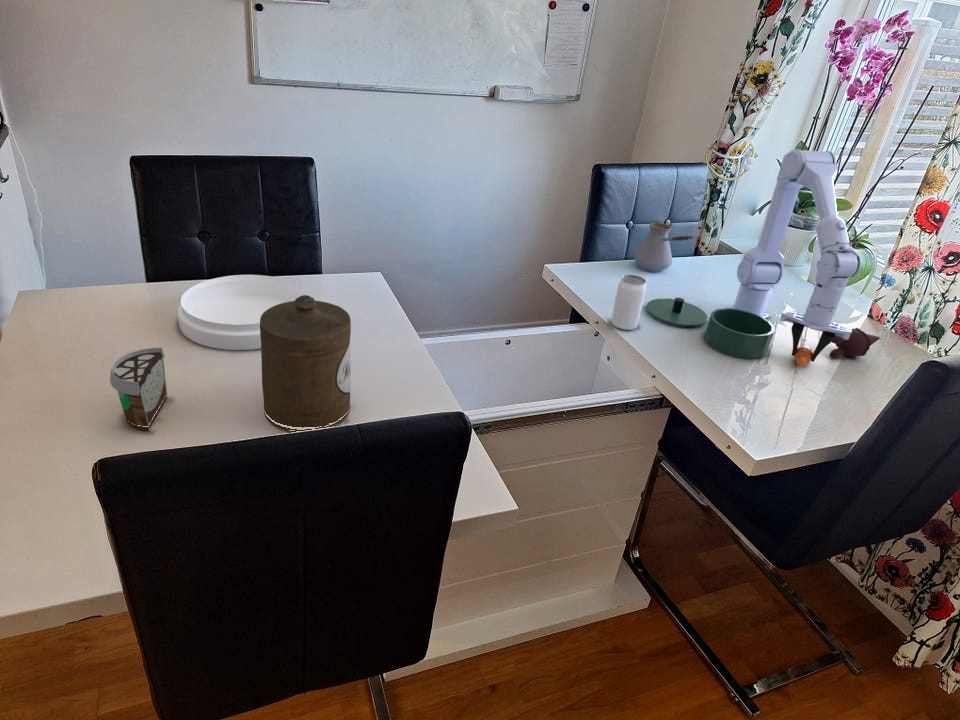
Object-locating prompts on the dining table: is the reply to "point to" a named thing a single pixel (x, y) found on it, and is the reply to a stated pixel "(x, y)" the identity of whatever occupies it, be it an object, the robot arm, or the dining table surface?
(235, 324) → the plate
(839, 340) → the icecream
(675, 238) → the coffee pot
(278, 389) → the wooden container
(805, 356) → the carrot
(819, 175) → the robot arm
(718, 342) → the pot
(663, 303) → the pot lid
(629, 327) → the can
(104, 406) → the dining table surface
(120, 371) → the food container
